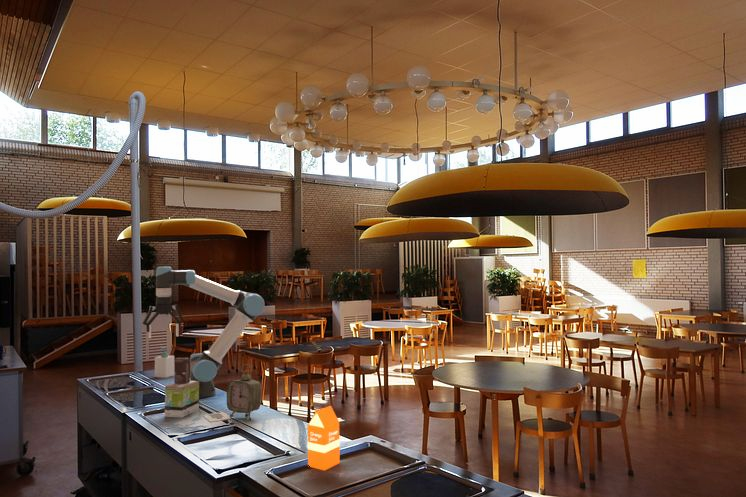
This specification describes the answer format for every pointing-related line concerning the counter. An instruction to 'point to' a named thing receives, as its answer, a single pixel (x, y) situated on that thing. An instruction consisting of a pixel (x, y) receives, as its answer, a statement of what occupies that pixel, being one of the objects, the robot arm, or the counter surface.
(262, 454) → the counter surface
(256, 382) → the tabletop clock
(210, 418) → the card
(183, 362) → the box
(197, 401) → the tea box
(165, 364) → the soap bottle
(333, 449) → the orange juice
